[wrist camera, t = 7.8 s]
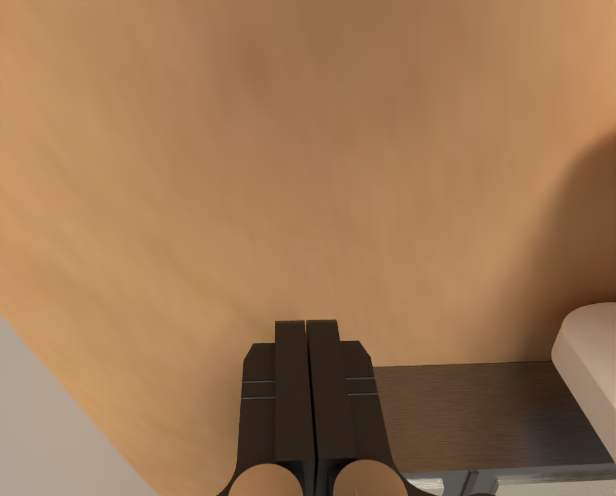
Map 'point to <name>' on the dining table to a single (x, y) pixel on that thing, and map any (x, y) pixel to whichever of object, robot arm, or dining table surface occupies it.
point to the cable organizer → (591, 365)
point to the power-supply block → (492, 431)
